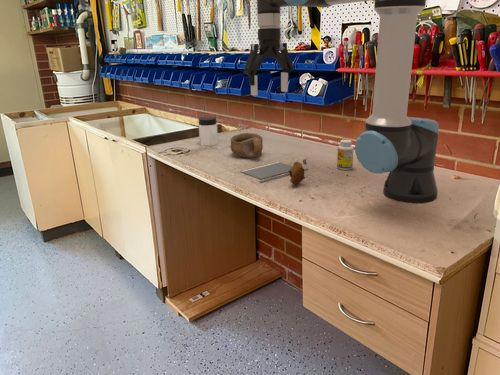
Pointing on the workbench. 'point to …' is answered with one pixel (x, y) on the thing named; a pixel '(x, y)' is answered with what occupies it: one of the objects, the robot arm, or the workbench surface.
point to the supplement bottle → (345, 155)
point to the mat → (268, 170)
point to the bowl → (247, 145)
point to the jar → (208, 131)
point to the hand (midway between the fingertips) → (269, 93)
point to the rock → (297, 173)
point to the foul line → (277, 177)
